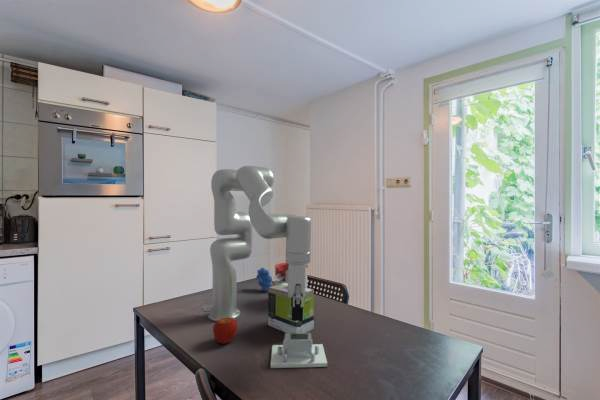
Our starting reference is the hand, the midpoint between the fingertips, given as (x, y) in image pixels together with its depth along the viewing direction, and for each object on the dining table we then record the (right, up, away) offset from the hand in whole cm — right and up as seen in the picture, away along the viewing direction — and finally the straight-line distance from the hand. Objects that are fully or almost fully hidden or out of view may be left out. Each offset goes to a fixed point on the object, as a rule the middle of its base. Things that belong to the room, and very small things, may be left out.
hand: (296, 313), depth 88 cm
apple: (-24, -13, +9) cm, 29 cm away
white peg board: (+1, -13, -1) cm, 13 cm away
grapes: (-18, -14, +64) cm, 68 cm away
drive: (0, -12, -1) cm, 12 cm away
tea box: (-2, -13, +20) cm, 24 cm away
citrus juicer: (-4, -14, +47) cm, 49 cm away
